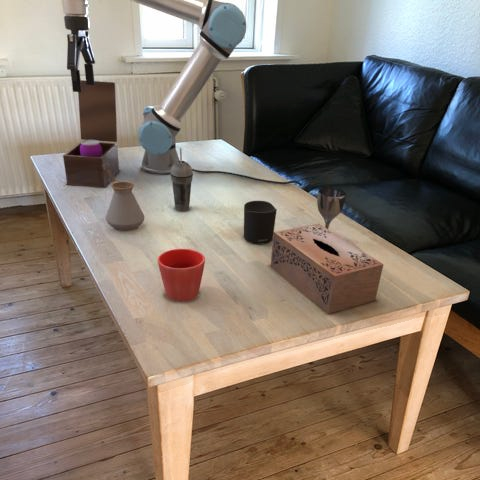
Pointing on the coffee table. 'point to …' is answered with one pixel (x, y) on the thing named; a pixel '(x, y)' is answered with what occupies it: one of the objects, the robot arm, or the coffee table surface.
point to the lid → (98, 111)
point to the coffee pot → (123, 206)
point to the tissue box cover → (325, 267)
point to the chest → (91, 166)
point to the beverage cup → (181, 184)
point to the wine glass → (330, 203)
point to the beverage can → (91, 148)
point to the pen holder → (259, 222)
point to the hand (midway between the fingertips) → (84, 88)
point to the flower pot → (181, 273)
